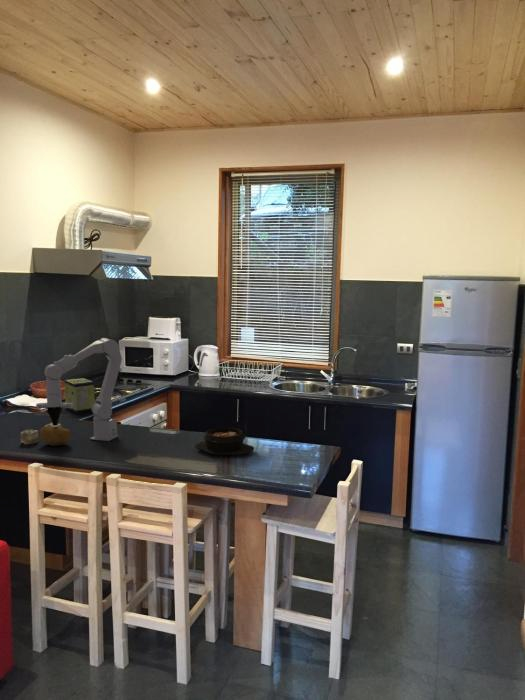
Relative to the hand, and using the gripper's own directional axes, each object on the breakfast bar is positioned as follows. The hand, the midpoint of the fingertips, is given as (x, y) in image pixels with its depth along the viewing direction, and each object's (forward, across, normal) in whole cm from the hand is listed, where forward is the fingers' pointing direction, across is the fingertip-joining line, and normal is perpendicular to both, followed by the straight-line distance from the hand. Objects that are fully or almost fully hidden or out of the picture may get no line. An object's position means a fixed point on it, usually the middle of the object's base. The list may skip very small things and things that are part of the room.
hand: (55, 424), depth 239 cm
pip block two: (+9, +6, -15) cm, 18 cm away
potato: (+9, 0, 0) cm, 9 cm away
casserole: (+9, -71, +12) cm, 73 cm away
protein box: (+9, +6, -64) cm, 65 cm away
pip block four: (+9, +12, -4) cm, 16 cm away
